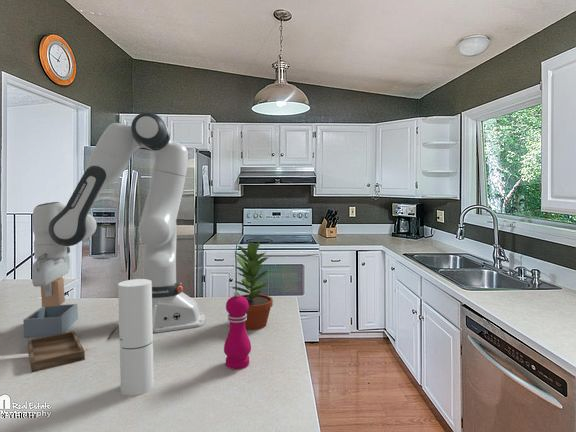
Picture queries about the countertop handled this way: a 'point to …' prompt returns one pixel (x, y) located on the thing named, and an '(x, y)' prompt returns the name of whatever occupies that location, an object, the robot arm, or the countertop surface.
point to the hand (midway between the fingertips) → (53, 293)
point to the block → (54, 294)
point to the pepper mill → (237, 333)
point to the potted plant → (253, 287)
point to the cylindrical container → (136, 336)
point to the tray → (55, 351)
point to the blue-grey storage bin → (50, 320)
